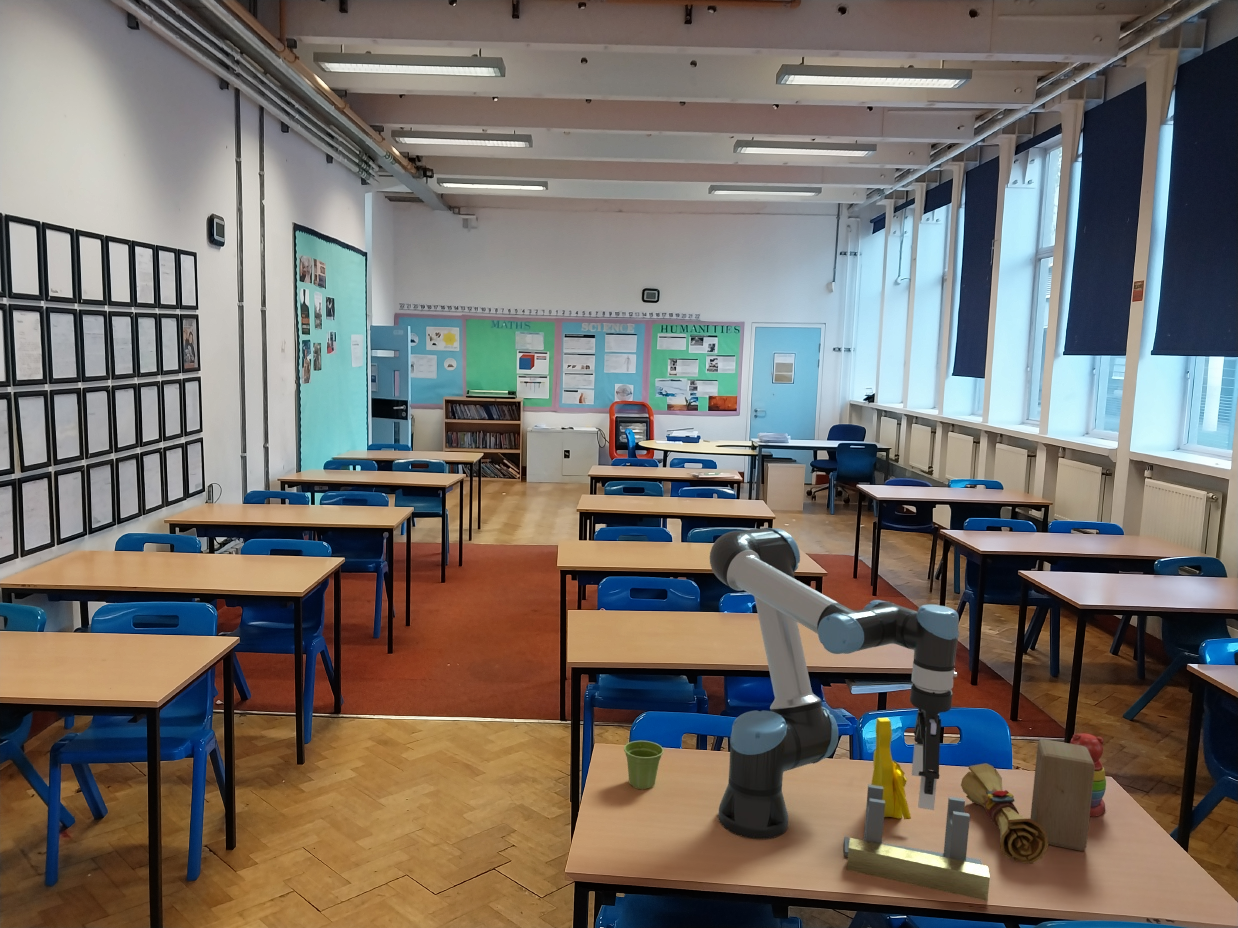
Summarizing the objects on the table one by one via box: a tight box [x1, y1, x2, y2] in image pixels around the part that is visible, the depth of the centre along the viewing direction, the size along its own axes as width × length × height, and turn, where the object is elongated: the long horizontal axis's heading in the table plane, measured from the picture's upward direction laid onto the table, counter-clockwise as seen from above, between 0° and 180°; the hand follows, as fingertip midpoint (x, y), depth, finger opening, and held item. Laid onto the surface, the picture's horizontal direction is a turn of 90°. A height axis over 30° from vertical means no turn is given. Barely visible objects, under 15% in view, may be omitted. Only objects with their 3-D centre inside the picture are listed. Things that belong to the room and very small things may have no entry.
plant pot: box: [623, 740, 665, 790], centre depth 202 cm, size 9×9×9 cm
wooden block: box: [1029, 738, 1095, 852], centre depth 185 cm, size 10×10×20 cm
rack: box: [843, 784, 983, 865], centre depth 174 cm, size 27×7×13 cm, turn 76°
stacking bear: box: [1069, 732, 1107, 818], centre depth 200 cm, size 11×10×18 cm
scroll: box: [960, 762, 1049, 864], centre depth 187 cm, size 27×10×10 cm, turn 176°
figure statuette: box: [870, 717, 912, 820], centre depth 193 cm, size 18×8×22 cm, turn 2°
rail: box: [846, 837, 991, 902], centre depth 168 cm, size 26×4×5 cm, turn 71°
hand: (922, 791), depth 166 cm, fingers open, 13 cm apart
